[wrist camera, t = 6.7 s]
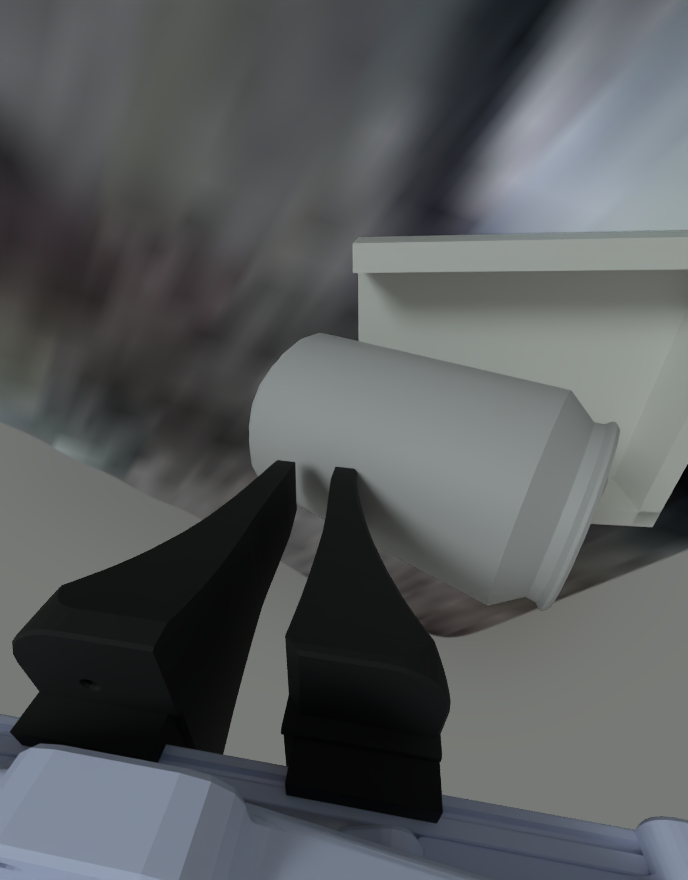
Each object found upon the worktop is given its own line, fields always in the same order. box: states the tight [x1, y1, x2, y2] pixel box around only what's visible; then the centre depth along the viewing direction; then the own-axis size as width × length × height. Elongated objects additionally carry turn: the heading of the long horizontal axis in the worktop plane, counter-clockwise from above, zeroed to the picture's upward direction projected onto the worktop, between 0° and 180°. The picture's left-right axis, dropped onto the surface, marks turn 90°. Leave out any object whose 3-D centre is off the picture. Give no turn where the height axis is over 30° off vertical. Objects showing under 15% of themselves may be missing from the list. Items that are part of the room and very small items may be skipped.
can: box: [249, 333, 620, 611], centre depth 15 cm, size 8×8×12 cm
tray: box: [353, 230, 688, 527], centre depth 18 cm, size 15×13×3 cm
